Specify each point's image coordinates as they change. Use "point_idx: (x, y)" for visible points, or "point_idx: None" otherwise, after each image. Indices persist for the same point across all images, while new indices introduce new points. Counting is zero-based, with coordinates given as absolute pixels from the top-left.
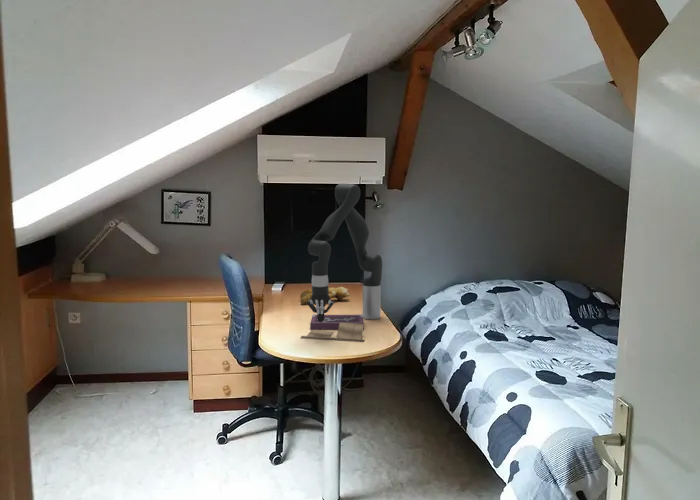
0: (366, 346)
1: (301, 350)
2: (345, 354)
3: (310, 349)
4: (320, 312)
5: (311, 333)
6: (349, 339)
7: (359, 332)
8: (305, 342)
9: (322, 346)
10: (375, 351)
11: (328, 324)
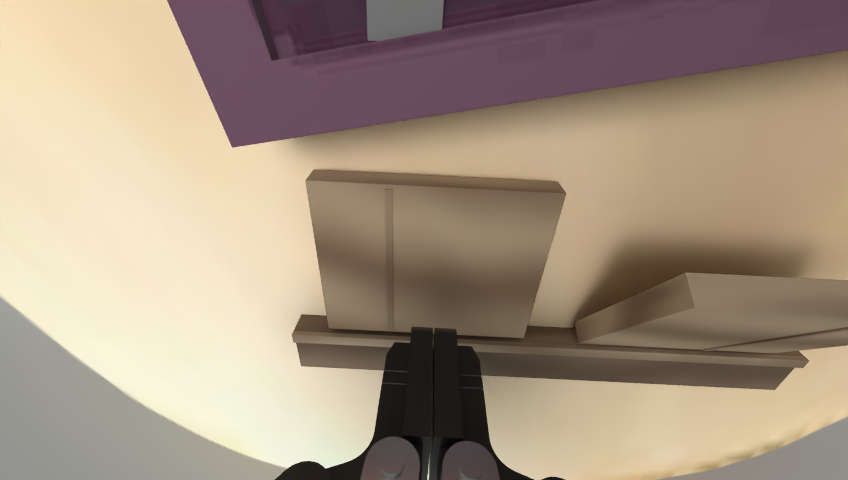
0: None
1: None
2: (610, 473)
3: None
4: (420, 475)
5: (343, 263)
6: (682, 360)
7: (830, 343)
8: None
9: None
10: (790, 439)
11: (499, 101)
